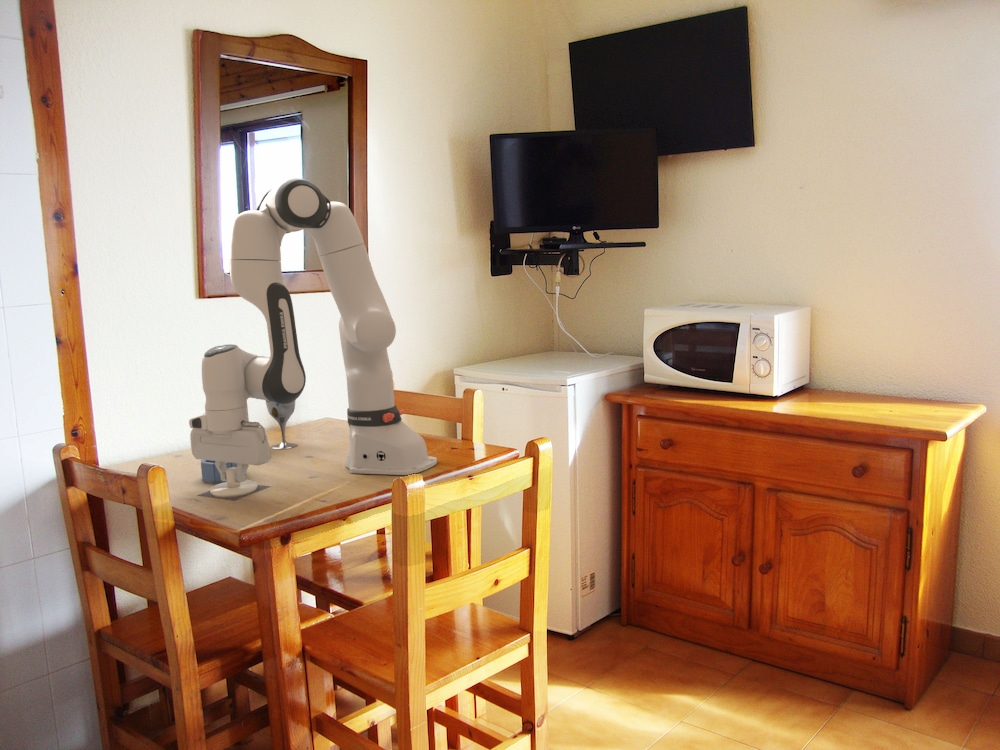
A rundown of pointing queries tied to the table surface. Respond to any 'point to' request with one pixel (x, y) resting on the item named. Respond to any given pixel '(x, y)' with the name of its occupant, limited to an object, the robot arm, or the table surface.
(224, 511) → the table surface
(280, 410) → the silver goblet
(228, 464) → the bowl
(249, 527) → the table surface
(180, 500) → the table surface
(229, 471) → the lid
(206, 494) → the mat
